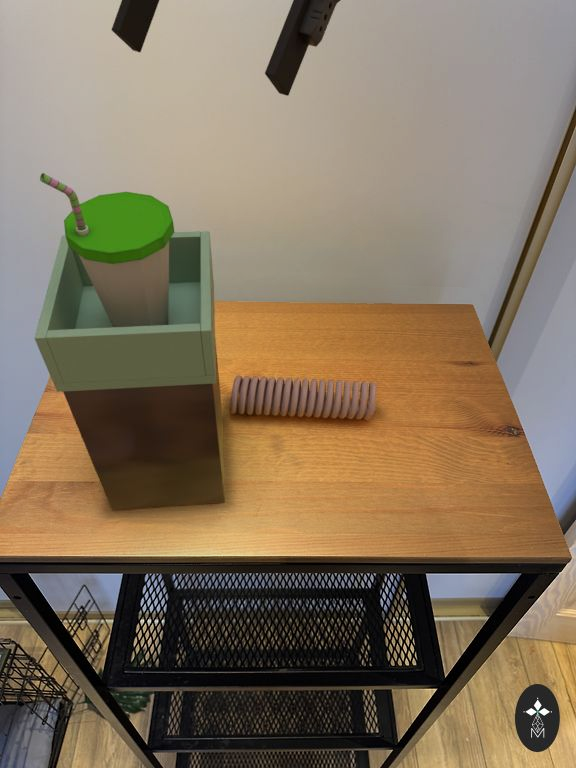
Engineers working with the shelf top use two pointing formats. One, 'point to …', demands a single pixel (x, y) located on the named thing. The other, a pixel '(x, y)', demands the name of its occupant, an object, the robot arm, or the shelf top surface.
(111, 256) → the cup
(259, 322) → the shelf top surface
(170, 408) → the stand
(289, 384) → the coil
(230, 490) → the shelf top surface
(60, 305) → the bin
